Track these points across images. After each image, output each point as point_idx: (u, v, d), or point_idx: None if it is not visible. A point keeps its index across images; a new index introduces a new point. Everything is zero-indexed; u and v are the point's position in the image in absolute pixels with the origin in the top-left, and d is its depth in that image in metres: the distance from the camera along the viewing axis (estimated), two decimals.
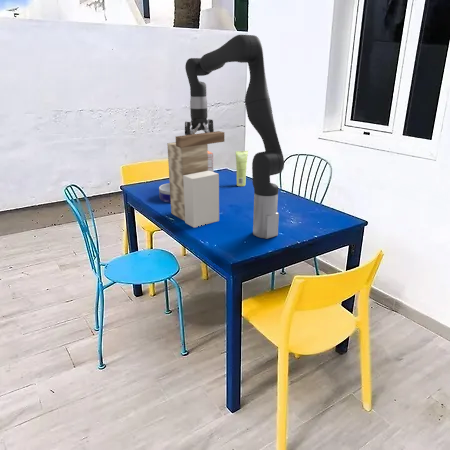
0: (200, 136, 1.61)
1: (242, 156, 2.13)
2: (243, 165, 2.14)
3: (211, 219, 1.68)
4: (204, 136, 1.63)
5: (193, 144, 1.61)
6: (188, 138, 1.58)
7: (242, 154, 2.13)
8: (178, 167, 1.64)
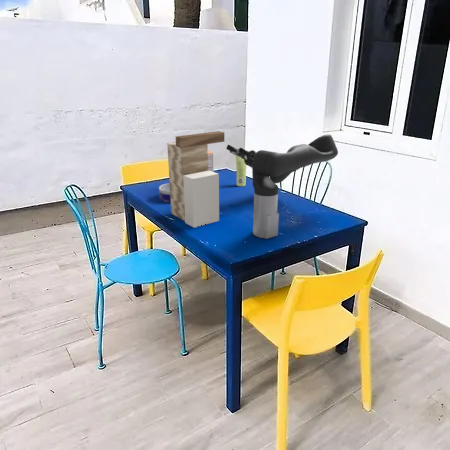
0: (200, 136, 1.61)
1: None
2: (243, 165, 2.14)
3: (211, 219, 1.68)
4: (204, 136, 1.63)
5: (193, 144, 1.61)
6: (188, 138, 1.58)
7: None
8: (178, 167, 1.64)
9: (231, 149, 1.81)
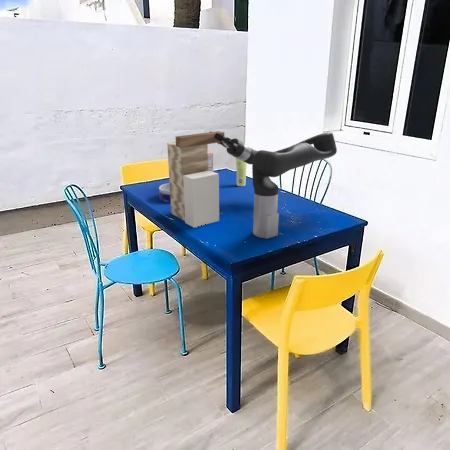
0: (200, 136, 1.61)
1: None
2: (243, 165, 2.14)
3: (211, 219, 1.68)
4: (204, 136, 1.63)
5: (193, 144, 1.61)
6: (188, 138, 1.58)
7: None
8: (178, 167, 1.64)
9: None
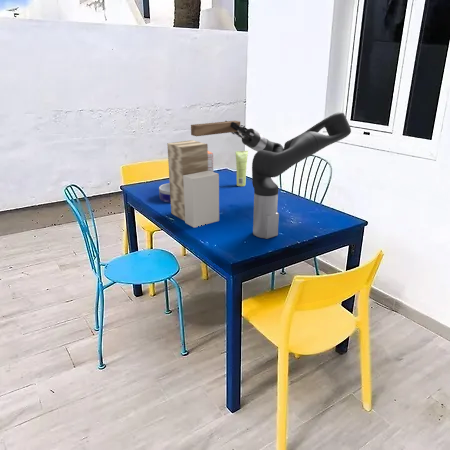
0: (216, 125, 1.57)
1: (242, 156, 2.13)
2: (243, 165, 2.14)
3: (211, 219, 1.68)
4: (220, 125, 1.59)
5: (209, 133, 1.57)
6: (204, 126, 1.54)
7: (242, 154, 2.13)
8: (178, 167, 1.64)
9: None
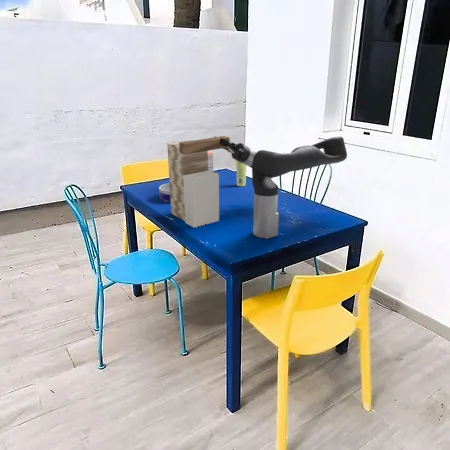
0: (205, 142, 1.55)
1: None
2: (243, 165, 2.14)
3: (211, 219, 1.68)
4: (209, 142, 1.56)
5: (197, 150, 1.54)
6: (192, 144, 1.52)
7: None
8: (178, 167, 1.64)
9: None
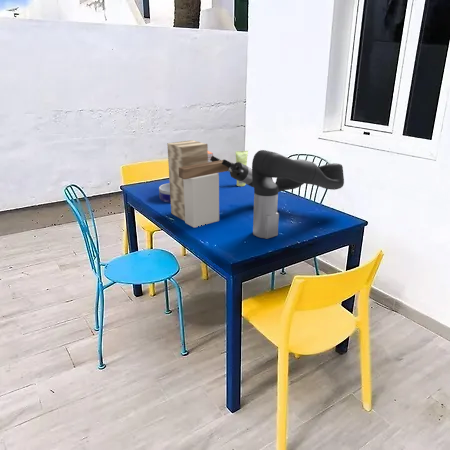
0: (203, 167, 1.59)
1: (242, 156, 2.13)
2: None
3: (211, 219, 1.68)
4: (207, 166, 1.60)
5: (196, 175, 1.58)
6: (191, 169, 1.55)
7: (242, 154, 2.13)
8: (178, 167, 1.64)
9: None
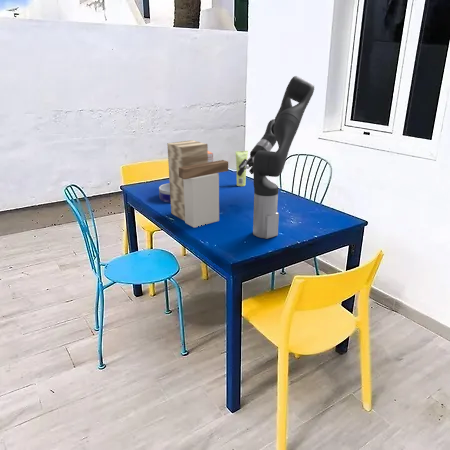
0: (203, 167, 1.59)
1: (242, 156, 2.13)
2: None
3: (211, 219, 1.68)
4: (207, 166, 1.60)
5: (196, 175, 1.58)
6: (191, 169, 1.55)
7: (242, 154, 2.13)
8: (178, 167, 1.64)
9: (241, 171, 1.85)
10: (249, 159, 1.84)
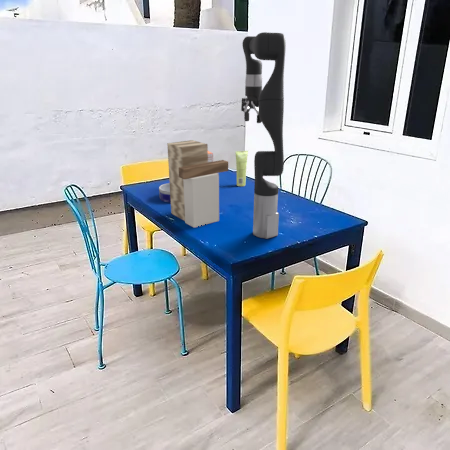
0: (203, 167, 1.59)
1: (242, 156, 2.13)
2: (243, 165, 2.14)
3: (211, 219, 1.68)
4: (207, 166, 1.60)
5: (196, 175, 1.58)
6: (191, 169, 1.55)
7: (242, 154, 2.13)
8: (178, 167, 1.64)
9: (247, 115, 1.85)
10: (248, 103, 1.79)
